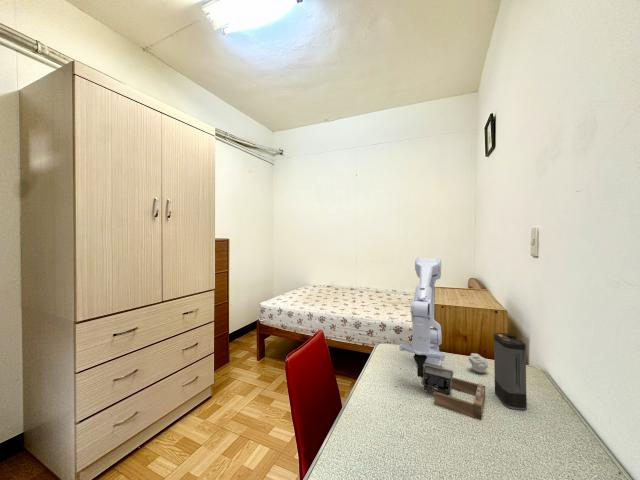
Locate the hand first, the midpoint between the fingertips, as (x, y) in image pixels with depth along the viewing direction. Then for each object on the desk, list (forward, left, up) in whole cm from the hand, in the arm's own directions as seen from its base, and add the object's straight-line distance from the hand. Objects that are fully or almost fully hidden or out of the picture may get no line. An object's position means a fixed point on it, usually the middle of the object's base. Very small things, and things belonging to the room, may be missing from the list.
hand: (421, 376), depth 89 cm
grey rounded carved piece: (-26, +15, -5) cm, 30 cm away
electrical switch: (-1, +5, -4) cm, 7 cm away
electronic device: (-10, +25, -5) cm, 27 cm away
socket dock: (-1, +12, -5) cm, 12 cm away
